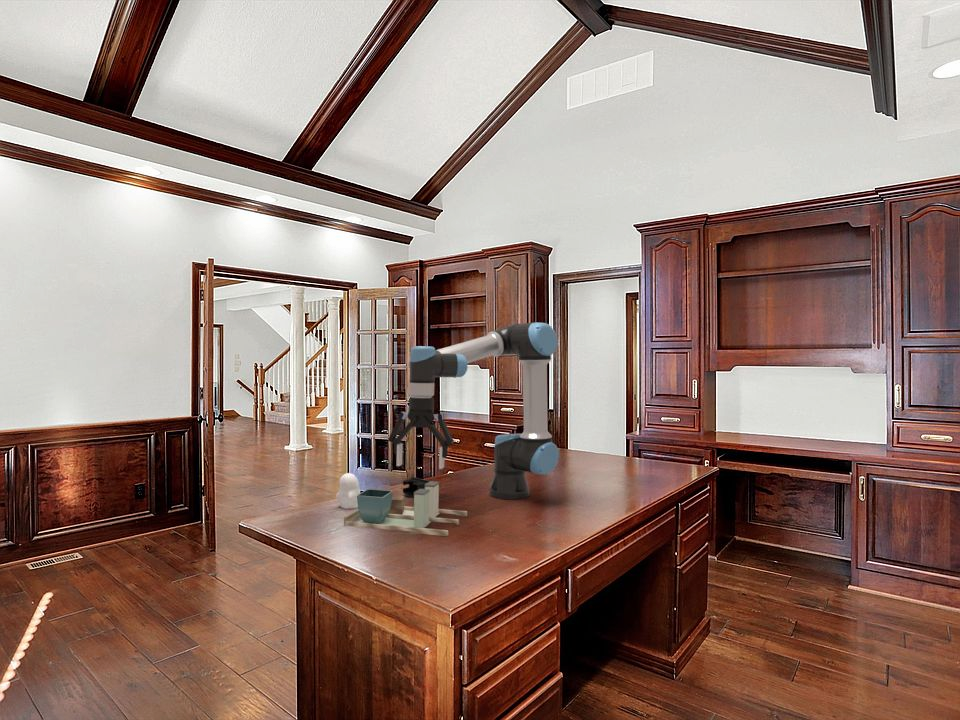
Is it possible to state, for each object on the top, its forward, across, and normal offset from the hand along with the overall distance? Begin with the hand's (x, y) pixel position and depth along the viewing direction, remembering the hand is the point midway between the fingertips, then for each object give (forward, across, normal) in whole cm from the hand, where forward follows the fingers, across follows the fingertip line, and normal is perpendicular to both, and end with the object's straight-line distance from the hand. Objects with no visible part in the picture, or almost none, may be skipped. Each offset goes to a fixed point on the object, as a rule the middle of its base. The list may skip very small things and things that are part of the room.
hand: (420, 466), depth 170 cm
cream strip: (+18, +9, -11) cm, 23 cm away
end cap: (+19, +13, -35) cm, 42 cm away
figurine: (+19, +30, -14) cm, 38 cm away
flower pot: (+18, +15, 0) cm, 23 cm away
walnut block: (+18, +12, -11) cm, 24 cm away
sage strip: (+18, +9, 0) cm, 21 cm away
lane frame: (+18, +5, -5) cm, 20 cm away
